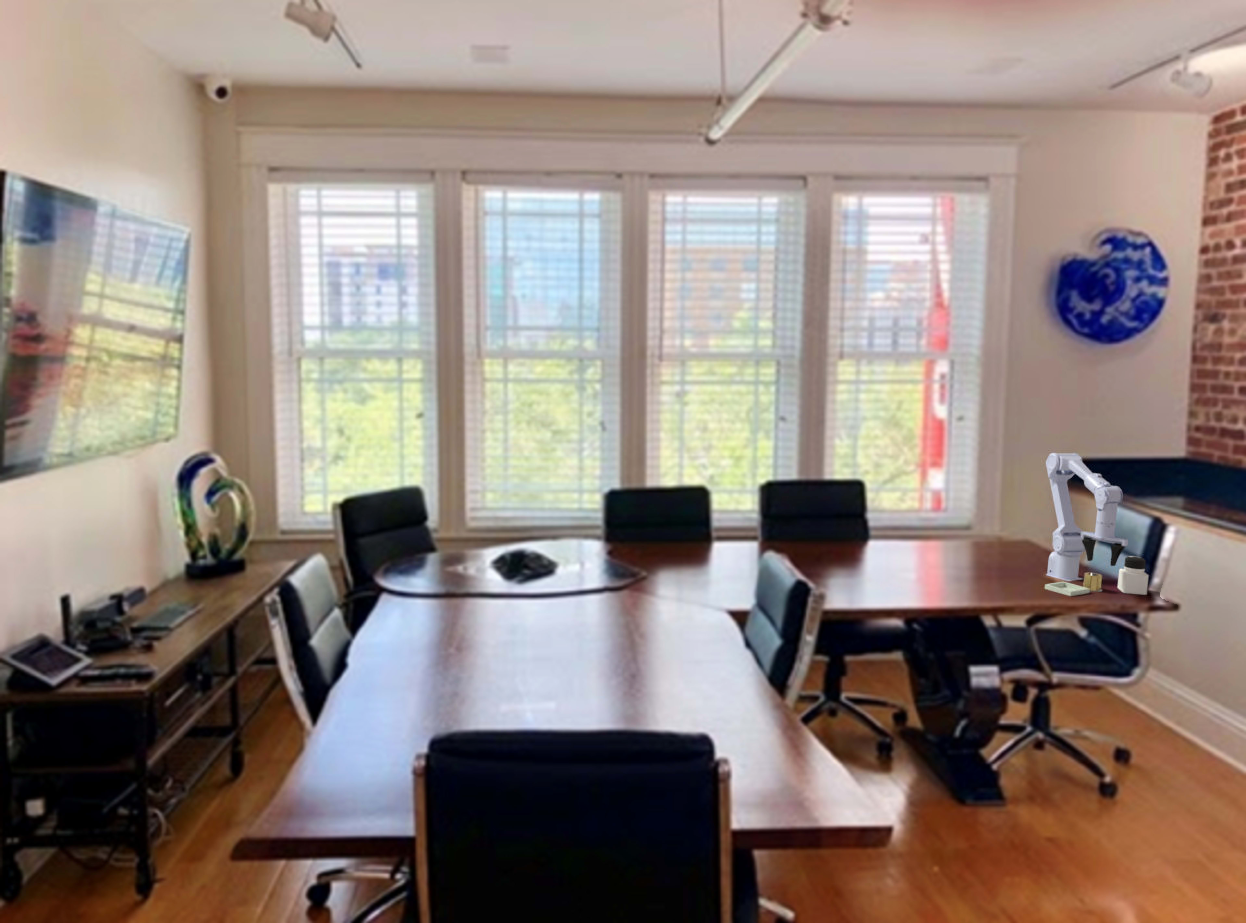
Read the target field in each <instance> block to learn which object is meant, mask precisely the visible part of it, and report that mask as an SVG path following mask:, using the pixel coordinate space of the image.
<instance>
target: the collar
mask: <svg viewBox="0 0 1246 923" xmlns="http://www.w3.org/2000/svg"><path fill="white" fill-rule="evenodd" d="M1090 573H1091V572H1084V575H1083V583H1082V584H1083V586H1082V587H1085V588H1089V589H1090V592H1092V591H1101V589H1102V579H1103V575H1102V574H1101V573H1096V572H1095V573H1096V576H1093V575H1090ZM1101 592H1102V591H1101Z"/></svg>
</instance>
